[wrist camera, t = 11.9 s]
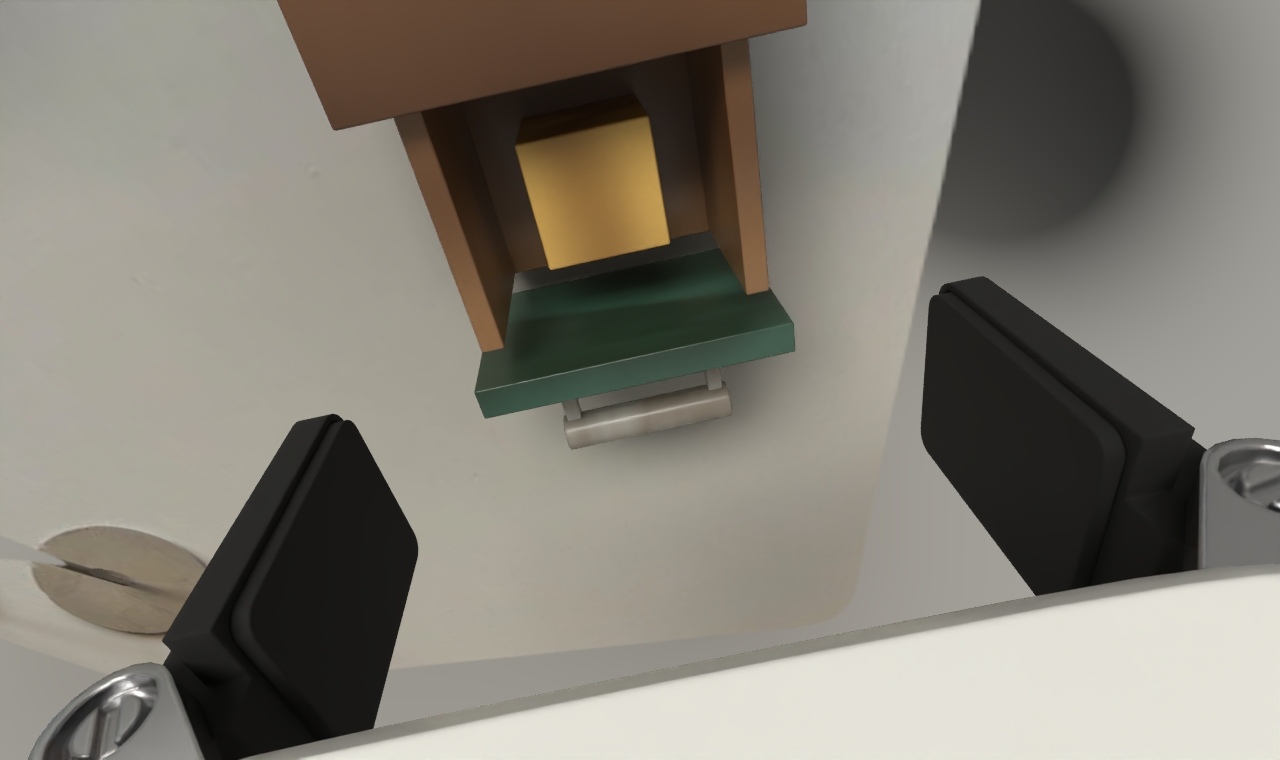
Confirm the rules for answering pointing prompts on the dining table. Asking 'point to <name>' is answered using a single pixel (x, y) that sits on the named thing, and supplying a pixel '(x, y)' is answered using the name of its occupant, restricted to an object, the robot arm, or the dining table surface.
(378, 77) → the cabinet
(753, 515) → the dining table surface
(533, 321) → the drawer
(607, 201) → the block
